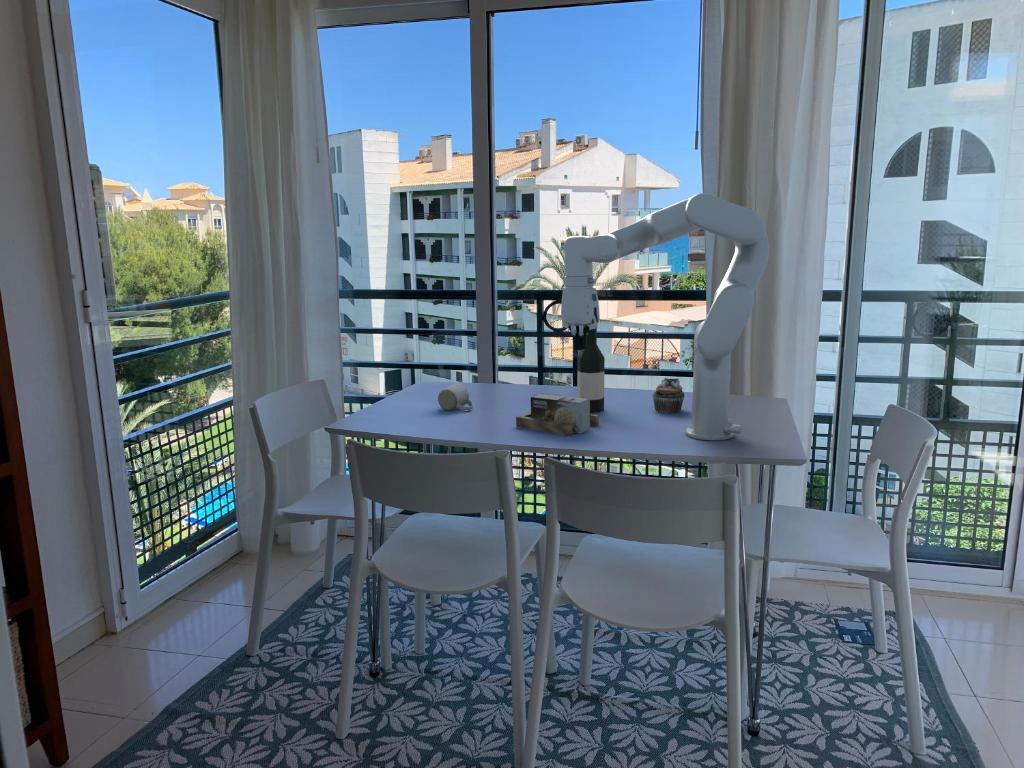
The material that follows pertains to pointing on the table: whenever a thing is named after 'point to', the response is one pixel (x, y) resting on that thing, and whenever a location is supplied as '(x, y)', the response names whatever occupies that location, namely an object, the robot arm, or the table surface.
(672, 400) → the cupcake
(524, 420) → the u rest
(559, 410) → the coffee box
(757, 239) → the robot arm
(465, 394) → the ceramic mug
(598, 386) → the wine bottle
